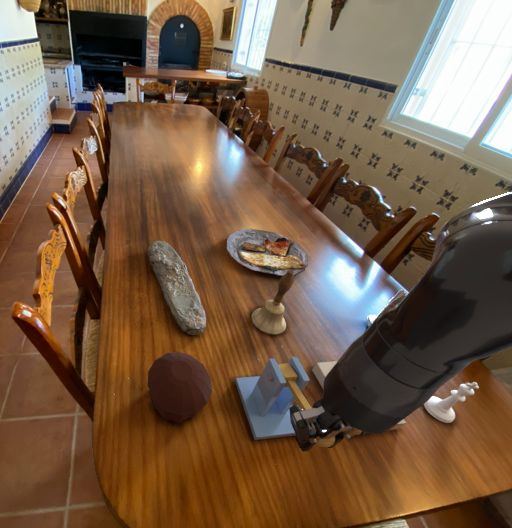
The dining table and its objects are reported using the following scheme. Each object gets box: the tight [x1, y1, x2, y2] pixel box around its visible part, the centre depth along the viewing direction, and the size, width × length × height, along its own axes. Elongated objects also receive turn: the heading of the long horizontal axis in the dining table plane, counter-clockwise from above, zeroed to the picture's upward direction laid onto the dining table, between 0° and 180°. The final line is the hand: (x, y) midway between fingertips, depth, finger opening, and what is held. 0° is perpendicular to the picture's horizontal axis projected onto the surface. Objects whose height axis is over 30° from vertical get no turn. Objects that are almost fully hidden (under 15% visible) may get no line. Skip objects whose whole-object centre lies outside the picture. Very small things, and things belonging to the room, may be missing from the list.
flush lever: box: [277, 362, 336, 449], centre depth 45 cm, size 13×3×3 cm, turn 7°
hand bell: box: [250, 270, 295, 335], centre depth 68 cm, size 8×8×16 cm
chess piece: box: [423, 381, 480, 424], centre depth 55 cm, size 5×5×10 cm
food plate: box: [226, 228, 309, 277], centre depth 93 cm, size 25×23×4 cm
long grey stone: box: [147, 240, 207, 336], centre depth 79 cm, size 35×5×10 cm
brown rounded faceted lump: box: [147, 351, 213, 424], centre depth 53 cm, size 12×11×10 cm
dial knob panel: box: [311, 360, 407, 431], centre depth 57 cm, size 13×10×4 cm
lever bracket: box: [234, 356, 311, 441], centre depth 52 cm, size 11×9×13 cm
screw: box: [365, 289, 407, 328], centre depth 69 cm, size 13×5×5 cm
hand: (313, 442), depth 42 cm, fingers closed on flush lever, 3 cm apart
